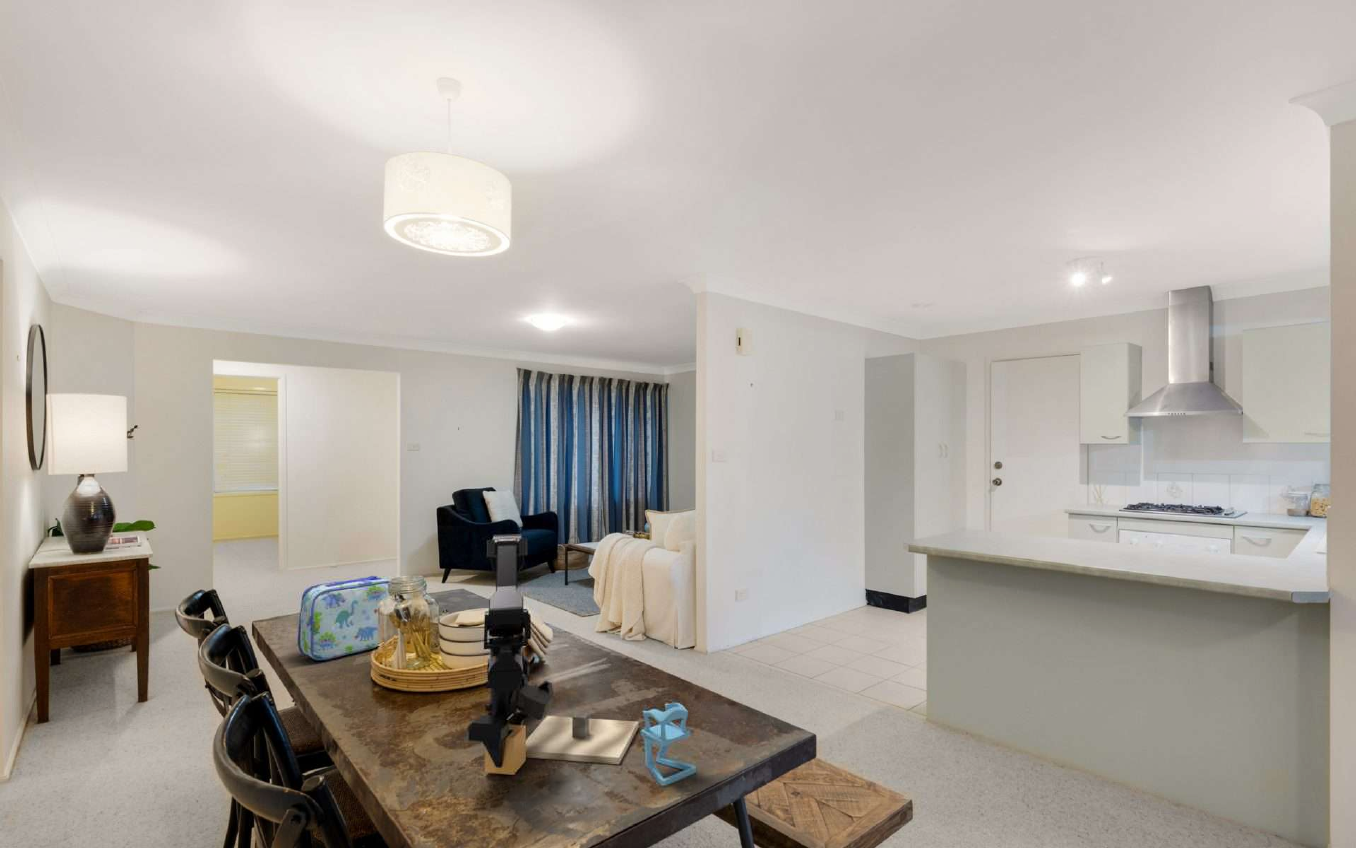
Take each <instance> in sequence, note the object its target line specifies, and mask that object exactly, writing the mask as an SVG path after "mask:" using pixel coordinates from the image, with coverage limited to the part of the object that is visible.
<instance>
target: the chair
mask: <svg viewBox="0 0 1356 848" xmlns="http://www.w3.org/2000/svg"><path fill="white" fill-rule="evenodd" d="M664 707H665V711H661V710H659V709H656V708H653V709H649V710H642V714H643V715H642V716H643V719H644V721H645V727H644V729H641V730H640V736H642V739H643V741H644V750H645V751H644V752H645V767H646V768H647V769H649V770H650V772H651V774H652V775H653V776H654V777H653V778H655V780H656V781H657V782H658V783H659V785H660V786H662V787H667V786H668V785H671V784H673V783H676V782H678V781H680V780H683V779H684V778H688V777H690V776H691V775H694V774H695V773H696V772H697V769H696V766H695V765H692V764H689V763H687V762H682V761H679V760H676V759H673V758H668V757H666V756H665V754H666V751H667V750H668V748H669V746H670V744H673V743H675V742H677V741H681V740H686V739H688V738H691V731H689V729H688V730H687V728H686V727H687V726H686V722H687V719H688V715H689V712H688V711H689V710H687V709H686V707H684V705H682V704H681V703H679V702H671V703H665V704H664ZM649 717H651V718H652V719H654V720H655V721H656V722H657V723H658V724H656V725H655V726H651V722H650V720H649ZM680 719H682V720H681V722H680V726H678V725H676V724H675V723H674V722H672V721H676V720H680ZM653 744H657V745H658V746H659V747H660V748H659V750H658V753H657V754H656V759H655V761H656V762H657V763H659V764H662V765H665V766H669V767H671V768H672V767H673V768H676V769H680V770H682V771H679V772H677V773H675V774H672V775H670V776H667V777H665V778H664V777H663V775H662V773H661V772H660V770H659V769H658V768H657V766H656V764H655V763H654V762H653V755H652V751H653V750H652V745H653Z"/></svg>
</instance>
